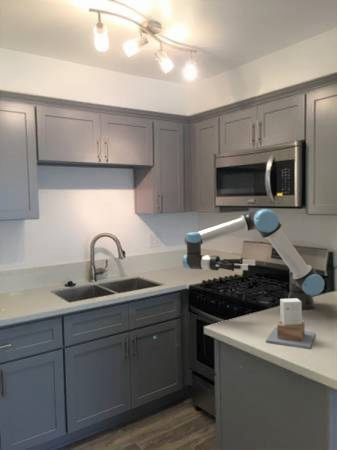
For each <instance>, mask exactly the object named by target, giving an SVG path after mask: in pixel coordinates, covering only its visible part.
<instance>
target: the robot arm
mask: <svg viewBox="0 0 337 450" xmlns="http://www.w3.org/2000/svg"><path fill="white" fill-rule="evenodd" d="M282 228H283V226H282V223H281V222H280V221H279V217H278V215H277V213H275V212H274V211H273V210H271V209H269V208H256V209H253V210H252V211H249V212H247V213H244V214H241V215H240V217H238V218H235V219H233V220H229V221H226V222H223V223H220V224H217V225H214V226H210V227H208V228H205V229H204V228H203V229H202V230H199V231H193V232H187V233H186V236H184V237H185V238H184V244H185V245H186V254H184V255H183V256H182V260H181V262H182V266H183V268H185V269H189V270H190V269H191V270H205V271H206V272H207V271H210V270H211V271H219V270H220V269H221V270H222V269H223V270H229V271H231V272H234V271H235V270H236V271H237V270H238V271H249V266H255V267H256V259H244V257H241V258H222V259H221V258H220V256H219V255H206V254H203V255H202V245H204V244H207V243H209V242H212V241H215V240H220V239H223V238H225V237H228V236H231V235H234V234H237V233H240V232H244V231H245V232H249V231H253V230H256V231H258V232H259V235H260V236H261V237H262V238H263V239H267V240H268V241H269V243H270V244H271V245H272V247H273V249H274V250H275V251H276V252H277V253H278V255H279V256H280V258H281V259H282V260H283V262H284V263H285V264H286V266H287V267H288V269H289V272H288V273H289V293H288V296H287V299H292V298H297V299H299V300H300V301H301V302H302V310H311V309H314V308H315V300H314V298H313V296H317V295H320V294H321V293H322V292H323V290H324V289H325V279H323V277H322V276H321V275H320V274H318V273H317V272H316V270H315V269H314V268H313V266H312V265H310V264H307V263H306V262H305V261H304V258H302V256H301V255H300V254H299V252H298V251H297V250H296V248H295V247H294V245H293V244H292V243H291V241H290V240H289V238H288V237H287V236H286V234H285V233H284V231H283V230H282Z"/></svg>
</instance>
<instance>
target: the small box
mask: <svg viewBox="0 0 337 450" xmlns="http://www.w3.org/2000/svg"><path fill="white" fill-rule="evenodd" d="M302 310H303V309H302V302H301V301H300V300H299V299H297V298H292V299H288V298H280V299H279V311H280V312H279V316H280V318H279V319H280V320H279V322H280V321H281V322H282V323H283V324H284V325H302V321H303V315H302V314H303V311H302Z"/></svg>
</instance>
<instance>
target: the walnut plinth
mask: <svg viewBox="0 0 337 450" xmlns="http://www.w3.org/2000/svg"><path fill="white" fill-rule="evenodd" d="M305 323H306V322H305V320H302V325H284V324H283V323H282V322H281V321H280V320H279V321H278V324H277V327H276V328H277V338H278V339H285V340H292V341H299V342H301V341H302V339H303V337H304V334H305V331H306V330H305V326H306V325H305Z"/></svg>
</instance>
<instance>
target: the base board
mask: <svg viewBox="0 0 337 450" xmlns="http://www.w3.org/2000/svg"><path fill="white" fill-rule="evenodd" d="M315 336H316V332H313V331H308V330H307V331H306V330H305V334H304V337H303V339H302V341H301V342H299V341H292V340H285V339H278V338H277V327H274V328H273V329H272V331H271V333H270V334H269V336H268V337H267V339H266V340H265V342H266V343H268V344H274V345H281V346H287V347H295V348H300V349H301V348H302V349H308V350H310V349H311V346H312V344H313V342H314V338H315Z"/></svg>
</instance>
